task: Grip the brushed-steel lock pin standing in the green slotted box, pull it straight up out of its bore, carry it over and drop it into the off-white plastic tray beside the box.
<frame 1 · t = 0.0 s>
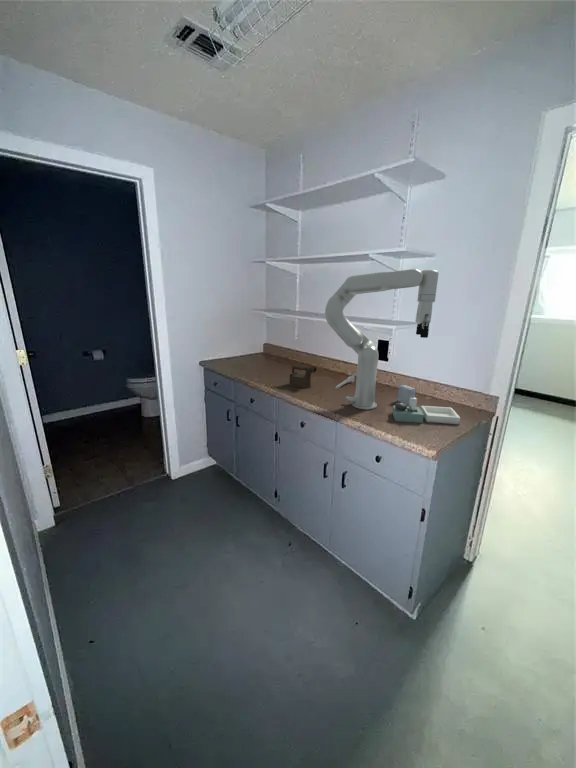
hand: (421, 335, 156), 37 cm above the counter, tool pointing down, fingers open, 9 cm apart
tray: (438, 417, 156), on the counter
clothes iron: (301, 386, 203), on the counter
lock pin: (411, 418, 155), resting in green slotted box
green slotted box: (406, 417, 155), on the counter
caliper: (344, 385, 205), on the counter
medicine box: (405, 403, 175), on the counter
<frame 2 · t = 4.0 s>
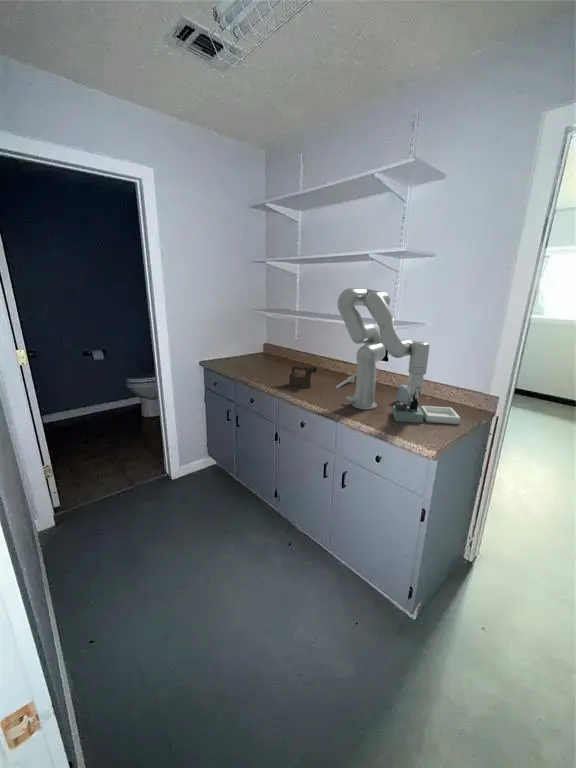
hand: (412, 407, 153), 5 cm above the counter, tool pointing down, fingers closed on lock pin, 3 cm apart
lock pin: (411, 418, 155), resting in green slotted box, touching gripper
everything else where it was.
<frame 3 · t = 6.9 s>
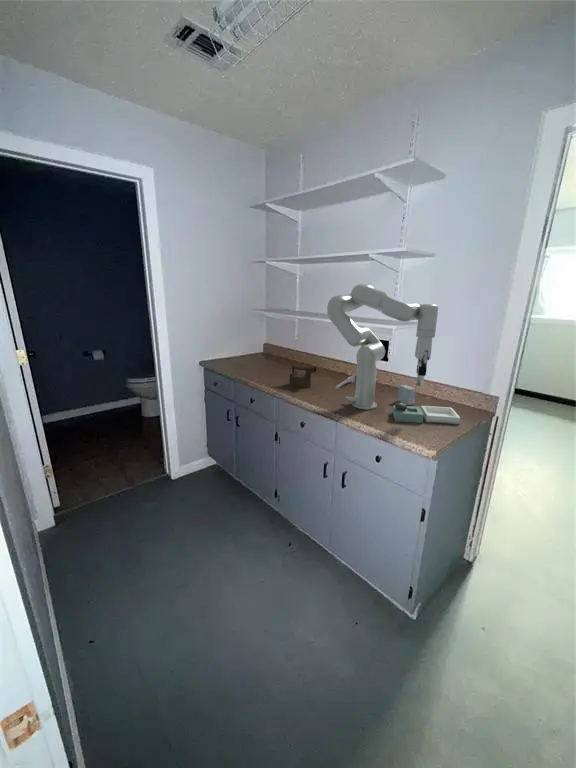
hand: (421, 374, 149), 21 cm above the counter, tool pointing down, fingers closed on lock pin, 3 cm apart
lock pin: (419, 385, 150), point 16 cm above the counter, touching gripper
everything else where it was.
when the fingers open (8 cm above the counter, at t = 10.3 s): lock pin drops 2 cm, resting on tray.
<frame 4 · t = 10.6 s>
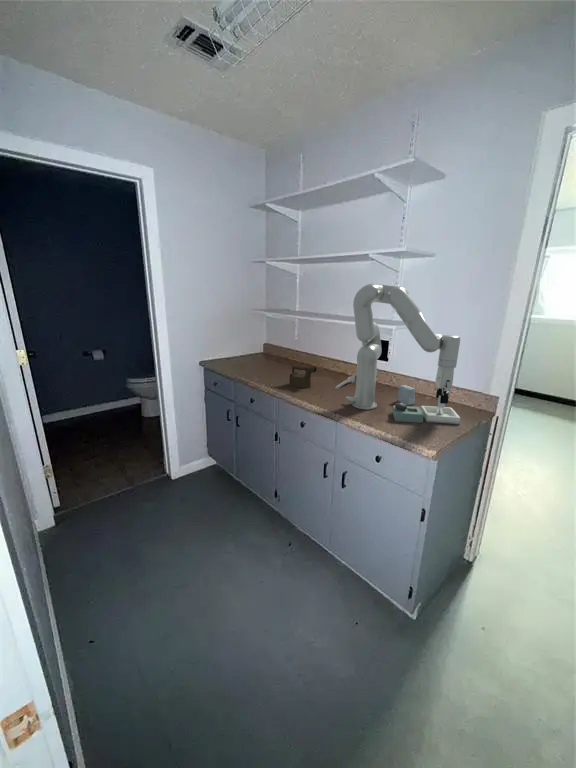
hand: (441, 400, 153), 9 cm above the counter, tool pointing down, fingers open, 6 cm apart
lock pin: (439, 416, 155), point 1 cm above the counter, touching tray
everything else where it was.
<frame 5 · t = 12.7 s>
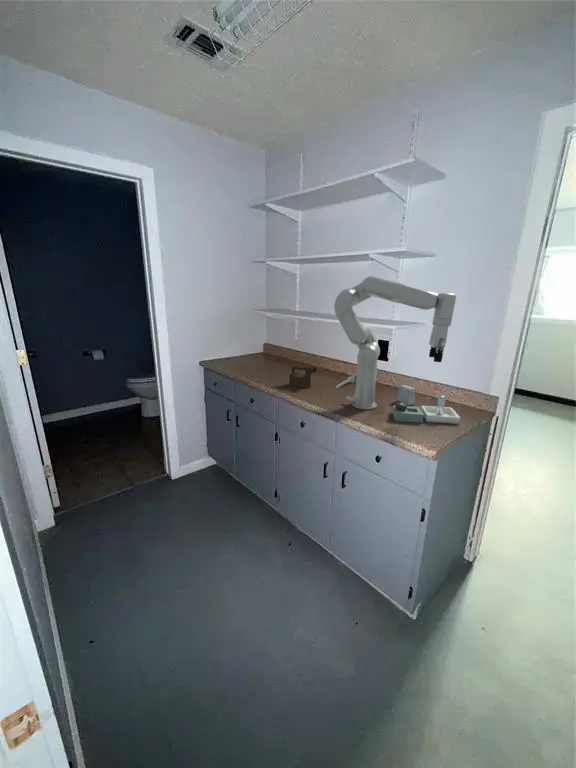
hand: (434, 359, 152), 27 cm above the counter, tool pointing down, fingers open, 9 cm apart
nothing on the counter moved.
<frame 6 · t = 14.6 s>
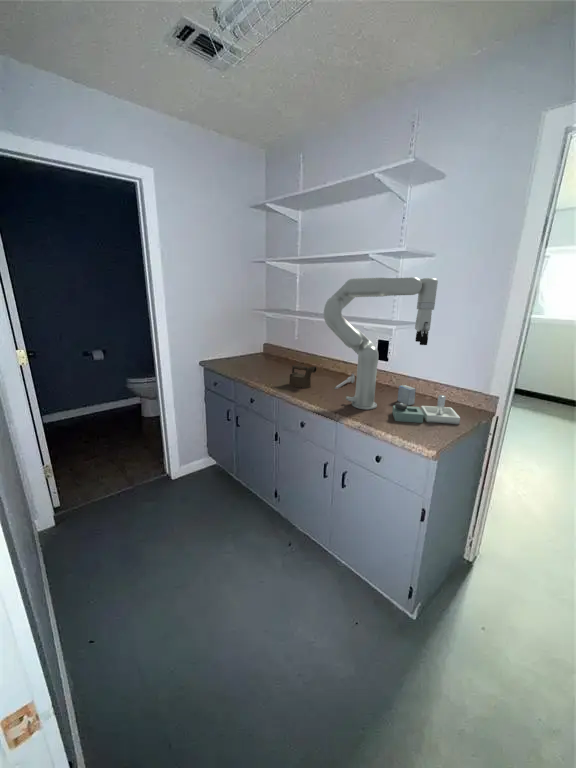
hand: (421, 343, 157), 33 cm above the counter, tool pointing down, fingers open, 9 cm apart
nothing on the counter moved.
at the end: lock pin inside the target area on the tray (0.1 cm from its centre), point 0.8 cm above the tray's base; lock pin moved 13.3 cm from its start; the gripper is holding nothing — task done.
